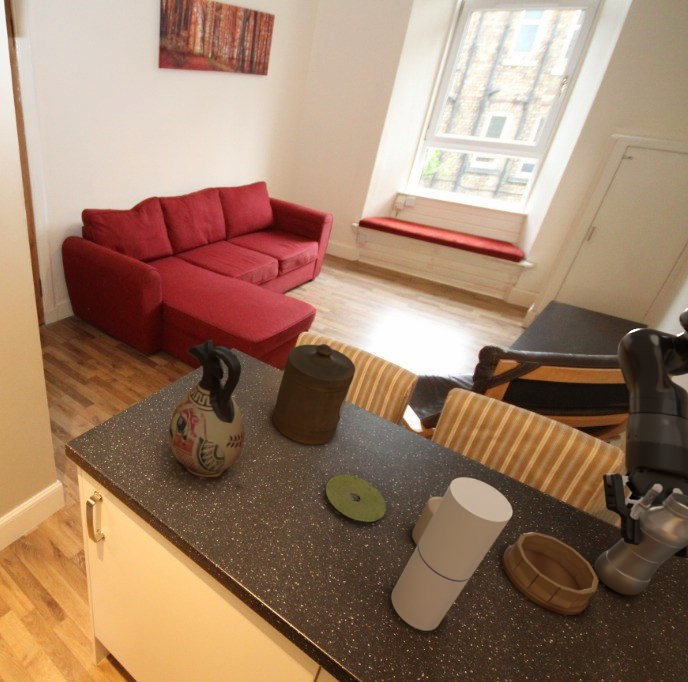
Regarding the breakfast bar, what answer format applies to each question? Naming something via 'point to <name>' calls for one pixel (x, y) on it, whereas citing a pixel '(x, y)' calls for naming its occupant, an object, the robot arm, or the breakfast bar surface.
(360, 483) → the mat
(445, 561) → the cylindrical container
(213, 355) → the ceramic jug
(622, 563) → the silver metal bottle
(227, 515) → the breakfast bar surface
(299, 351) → the wooden container
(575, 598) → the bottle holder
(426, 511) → the candle
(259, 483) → the breakfast bar surface
